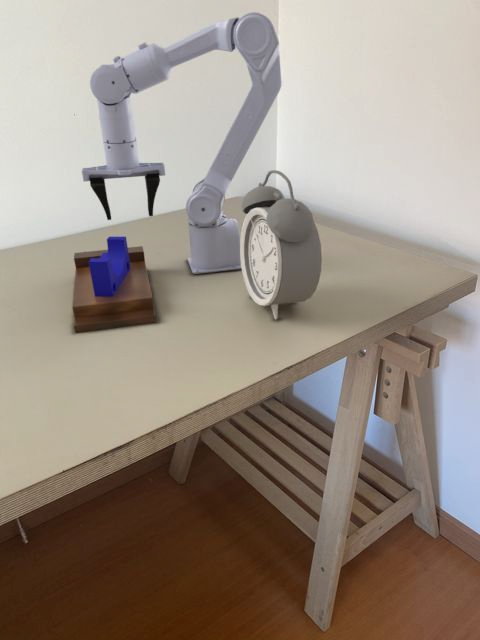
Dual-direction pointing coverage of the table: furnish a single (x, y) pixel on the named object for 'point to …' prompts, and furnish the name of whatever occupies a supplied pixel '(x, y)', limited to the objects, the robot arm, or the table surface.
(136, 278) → the step shelf
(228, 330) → the table surface
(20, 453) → the table surface
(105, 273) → the blue curved notched block
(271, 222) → the alarm clock
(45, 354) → the table surface
